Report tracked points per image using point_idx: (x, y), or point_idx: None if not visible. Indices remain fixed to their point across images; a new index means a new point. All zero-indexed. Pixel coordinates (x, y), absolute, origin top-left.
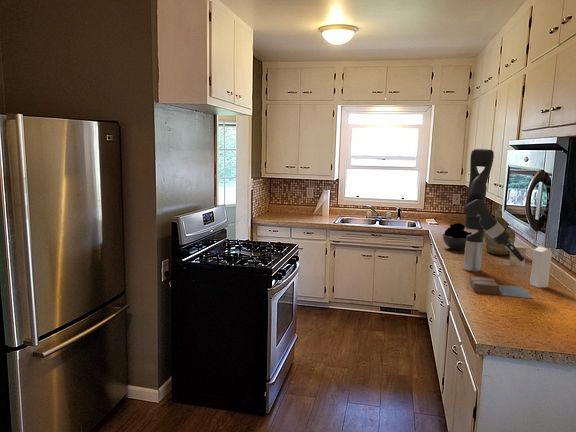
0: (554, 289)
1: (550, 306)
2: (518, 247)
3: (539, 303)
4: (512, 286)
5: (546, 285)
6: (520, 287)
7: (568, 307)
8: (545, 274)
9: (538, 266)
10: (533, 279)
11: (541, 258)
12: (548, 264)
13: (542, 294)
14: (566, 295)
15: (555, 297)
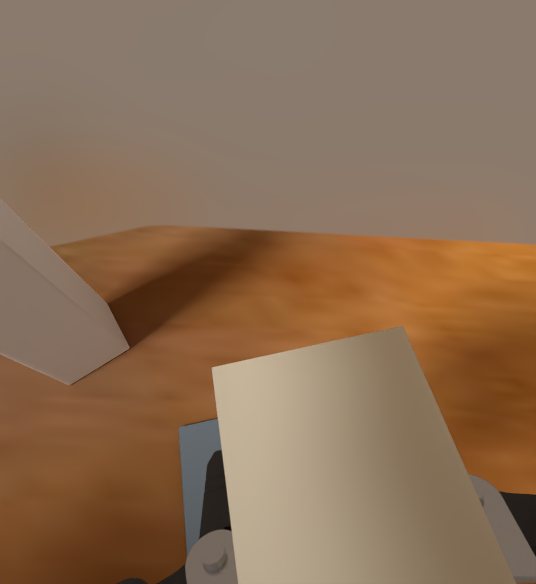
0: (135, 279)
1: (464, 309)
2: (449, 526)
3: (453, 353)
4: (190, 497)
5: (106, 305)
6: (190, 442)
7: (414, 246)
8: (77, 283)
9: (44, 300)
10: (74, 359)
11: (12, 246)
12: (29, 233)
13: (262, 332)
14: (218, 242)
15: (282, 282)
